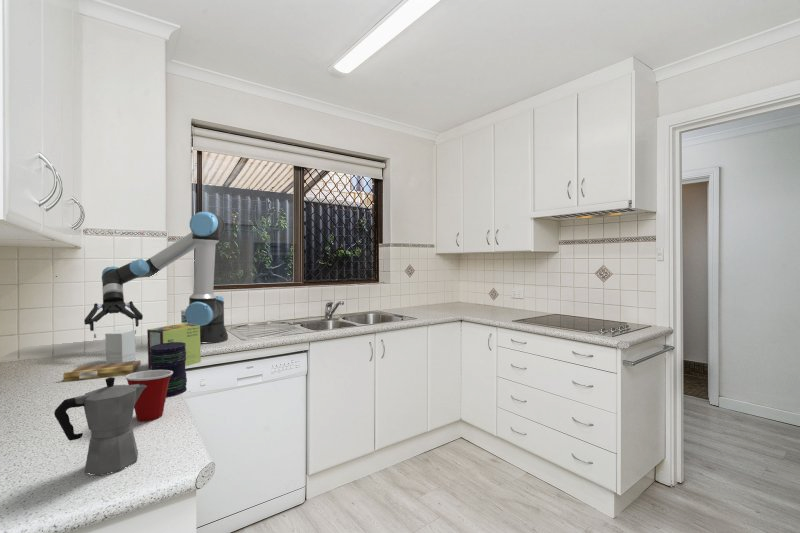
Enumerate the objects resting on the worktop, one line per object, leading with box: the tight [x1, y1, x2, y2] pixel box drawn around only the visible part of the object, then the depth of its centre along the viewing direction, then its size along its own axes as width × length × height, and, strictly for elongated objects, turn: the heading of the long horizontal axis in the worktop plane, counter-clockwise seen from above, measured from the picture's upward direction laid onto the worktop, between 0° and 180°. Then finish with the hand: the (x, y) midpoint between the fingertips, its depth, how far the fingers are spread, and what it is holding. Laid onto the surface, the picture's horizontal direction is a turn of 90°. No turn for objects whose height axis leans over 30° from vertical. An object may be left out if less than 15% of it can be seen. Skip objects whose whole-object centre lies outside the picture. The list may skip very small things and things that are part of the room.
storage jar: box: [150, 342, 188, 398], centre depth 122 cm, size 10×10×15 cm
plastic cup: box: [124, 369, 173, 422], centre depth 103 cm, size 11×11×12 cm
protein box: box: [146, 323, 202, 370], centre depth 153 cm, size 10×15×16 cm
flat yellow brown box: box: [63, 359, 142, 382], centre depth 144 cm, size 20×15×3 cm
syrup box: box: [180, 308, 191, 324], centre depth 214 cm, size 6×6×14 cm
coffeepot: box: [53, 376, 147, 476], centre depth 78 cm, size 15×9×18 cm, turn 144°
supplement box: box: [104, 329, 137, 364], centre depth 159 cm, size 7×7×13 cm
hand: (115, 334), depth 162 cm, fingers open, 13 cm apart
